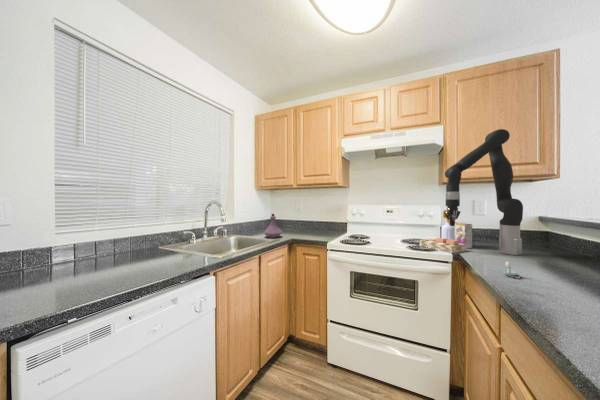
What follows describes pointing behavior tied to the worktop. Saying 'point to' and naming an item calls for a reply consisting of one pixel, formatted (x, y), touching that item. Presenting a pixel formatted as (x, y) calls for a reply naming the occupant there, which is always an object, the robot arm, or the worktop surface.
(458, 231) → the candy bar box
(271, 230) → the flask
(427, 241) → the button board
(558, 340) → the worktop surface
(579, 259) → the worktop surface
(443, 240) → the button middle
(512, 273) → the pacifier
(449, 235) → the soap bottle
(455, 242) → the button inner
